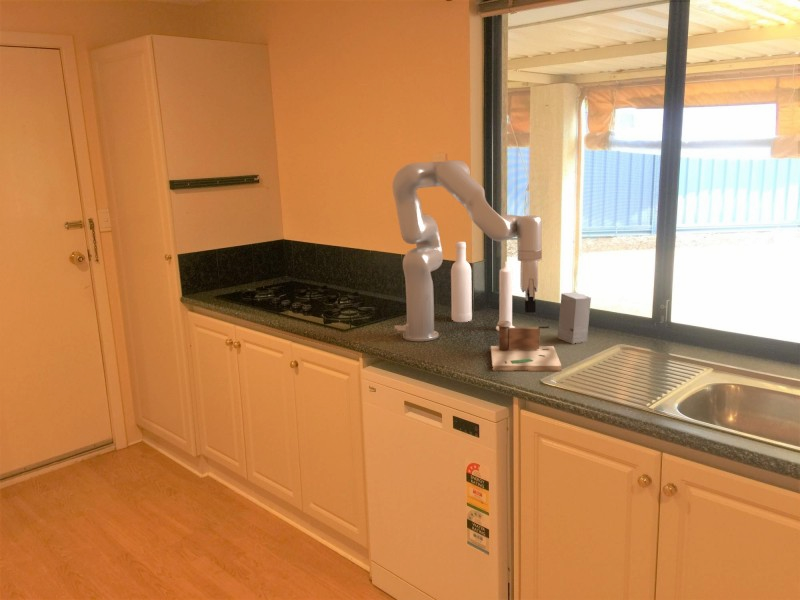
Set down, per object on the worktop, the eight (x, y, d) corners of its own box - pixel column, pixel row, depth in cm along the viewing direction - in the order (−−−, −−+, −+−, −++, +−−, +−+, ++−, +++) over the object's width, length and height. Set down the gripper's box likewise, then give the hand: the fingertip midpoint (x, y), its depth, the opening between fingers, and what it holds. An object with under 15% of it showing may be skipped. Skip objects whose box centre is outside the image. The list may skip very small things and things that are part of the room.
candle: (515, 332, 240) (515, 262, 234) (495, 331, 241) (495, 262, 236) (515, 327, 246) (516, 259, 241) (496, 326, 248) (496, 259, 242)
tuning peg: (497, 350, 213) (497, 324, 211) (497, 347, 217) (497, 320, 215) (549, 351, 211) (549, 323, 209) (547, 347, 215) (548, 320, 213)
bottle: (476, 320, 258) (476, 242, 251) (460, 323, 254) (459, 244, 247) (463, 316, 264) (462, 240, 258) (447, 319, 260) (446, 242, 254)
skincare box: (557, 338, 230) (558, 293, 227) (574, 335, 233) (575, 291, 230) (572, 344, 223) (573, 298, 219) (590, 341, 225) (591, 295, 222)
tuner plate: (492, 370, 200) (492, 364, 199) (490, 350, 219) (490, 345, 219) (561, 370, 198) (561, 365, 197) (553, 350, 217) (553, 345, 217)
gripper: (516, 252, 220) (516, 307, 224) (519, 259, 206) (520, 317, 209) (539, 251, 219) (539, 306, 223) (544, 258, 205) (544, 317, 209)
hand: (530, 311), depth 216 cm, fingers closed
